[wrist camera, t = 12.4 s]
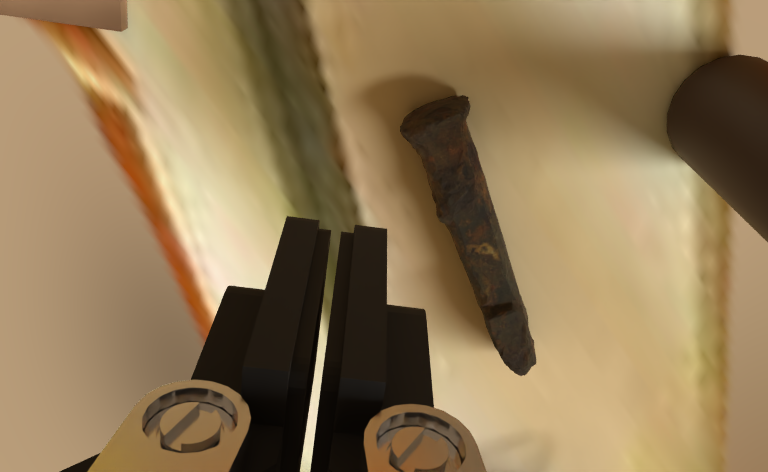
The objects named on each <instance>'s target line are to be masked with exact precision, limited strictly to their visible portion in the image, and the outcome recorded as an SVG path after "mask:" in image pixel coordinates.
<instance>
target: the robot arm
mask: <svg viewBox="0 0 768 472" xmlns="http://www.w3.org/2000/svg"><path fill="white" fill-rule="evenodd" d="M330 236H331V230H324V229H319V220H312V219H305V218H297V217H289V216H287V218H286V221H285V224H284V228H283V231H282V234H281V238H280V241H279V245H278V248H277V251H276V255H275V258H274V262H273V265H272V268H271V272H270V275H269V278H268V282H267V285H266V289H265V290H262V289H253V288H245V287H237V286H228V287H227V289H226V291H225V293H224V296H223V298H222V301H221V304H220V306H219V309H218V311H217V314H216V316H215V319H214V322H213V324H212V327H211V329H210V332H209V334H208V337H207V339H206V342H205V345H204V347H203V350H202V352H201V355H200V358H199V360H198V363H197V365H196V368H195V370H194V373H193V375H192V378H191V380H186V381H177V382H173V383H170V384H167V385H164V386H160V387H159V388H157V389H155V390H153V391H151V392H150V393H148V394H146V395H145V396H144V397H143V398H142V399H141V400H140V401H139V402H138V403H137V404H136V405H135V406H134V407H133V409H132V410H131V411H130V413H129V414H128V416H127V417H126V418H125V420H124V421H123V423H122V424H121V425H120V427H119V428H118V430H117V431H116V433H115V434H114V435H113V437H112V438H111V440H110V441H109V442H108V444H107V445H106V447H105V448H104V449H103V451H102V452H101V453H99V454H97V455H95V456H93V457H91V458H88V459H86V460H84V461H82V462H80V463H78V464H75V465H73V466H71V467H69V468H67V469H64V470H62V471H60V472H300V466H301V459H302V453H303V446H304V439H305V432H306V426H307V419H308V412H309V406H310V399H311V392H312V385H313V379H314V371H315V364H316V355H317V347H318V338H319V330H320V321H321V313H322V304H323V296H324V287H325V279H326V270H327V262H328V253H329V245H330ZM310 472H486V469H485V466H484V464H483V461H482V458H481V455H480V452H479V449H478V446H477V444H476V442H475V440H474V438H473V436H472V435H471V433H470V431H469V430H468V429H467V428H466V427H465V426H464V425H463V424H462V423H461V422H460V421H459V420H458V419H456V418H454V417H453V416H451V415H449V414H448V413H446V412H444V411H442V410H439V409H436V408H434V404H433V392H432V380H431V368H430V356H429V344H428V332H427V320H426V312H425V310H424V309H419V308H410V307H402V306H394V305H387V229H383V228H375V227H367V226H360V225H355V228H354V233H348V232H341V238H340V246H339V254H338V261H337V269H336V276H335V284H334V292H333V299H332V307H331V314H330V322H329V329H328V337H327V345H326V352H325V360H324V367H323V375H322V383H321V391H320V399H319V407H318V415H317V423H316V431H315V439H314V447H313V455H312V463H311V471H310Z"/></svg>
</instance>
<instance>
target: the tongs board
mask: <svg viewBox="0 0 768 472" xmlns="http://www.w3.org/2000/svg"><path fill="white" fill-rule="evenodd" d="M0 15H7V16H15V17H22V18H29V19H36V20H43V21H50V22H57V23H64V24H71V25H78V26H85V27H93V28H100V29H107V30H114V31H123V30H125V29H127V28H128V25H127V0H0Z"/></svg>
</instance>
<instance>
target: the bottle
mask: <svg viewBox="0 0 768 472" xmlns="http://www.w3.org/2000/svg"><path fill="white" fill-rule="evenodd" d="M667 133H668V136H669V138H670V141H671V144H672V147H673V149H674V150H675V151H676V152H677V153H678V154H679V156H680V157H681V158H682V159H683V160H684V161H685V162H686V163H687V164H688V165H689V166H690V167H691V168H692V169H693V170H694V171H695V172H696V173H697V174H698V175H699V176H700V177H701V178H702V179H703V180H704V181H705V182H706V183H707V184H709V185H710V186H711V187H712V188H713V189H714V190H715V191H716V192H717V193H718V194H719V195H720V196H721V197H722V198H723V199H724V200H725V201H726V202H727V203H728V204H729V205H730V206H731V207H732V208H733V209H734V210H735V211H736V212H737V213H738V214H739V215H740V216H741V217H742V218H743V219H744V220H745V221H746V222H748V223H749V224H750V225H751V226H752V227H753V228H754V229H755V230H756V231H757V232H758V233H759V234H760V235H761V236H762V237H763V238H764V239H765V240H766V241H767V242H768V62H767V61H765V60H763V59H761V58H758V57H751V56H745V55H736V56H730V57H724V58H719V59H716V60H714V61H712V62H710V63H708V64H706V65H704V66H702V67H700V68H699V69H698V70H696V71H695V72H694V73H693V74H692V75H690V76H689V77H688V78H687V79H686V80H685V81H684V82H683V84H682V85H681V86H680V88H679V89H678V91H677V92H676V94H675V95H674V96H673V99H672V102H671V105H670V108H669V111H668V114H667Z"/></svg>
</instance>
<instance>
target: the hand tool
mask: <svg viewBox="0 0 768 472" xmlns="http://www.w3.org/2000/svg"><path fill="white" fill-rule="evenodd" d="M469 110H470V103H469V101H468V97H466V96H463V95H462V96H452V97H449V98H447V99H443V100H439V101H435V102H431V103H429V104H426V105H424V106H422V107H420V108H418V109H416V110H414V111H413V112H412V113H410V114H409V115H407V116H406V117H405V118H404V120H403V124H402V125H401V126H400V132H401V134H402V135H403V137H404V138H405V139H406V140H407V141H409V142H410V143H411V145H412V146H413V148H415V149H416V151H417V153H418V154H419V155H420V156H421V158H422V160H423V164H424V167H425V169H426V172H427V176H428V181H429V185H430V187H431V190H432V196H433V199H434V201H435V203H436V207H437V216H438V218H439V220H440V222H442V223H444V224H445V225H446V226H447V228H448V229H449V231H450V233H451V235H452V237H453V240H454V242H455V245H456V248H457V251H458V253H459V256H460V259H461V261H462V263H463V265H464V268H465V270H466V272H467V274H468V277H469V279H470V282H471V284H472V287H473V290H474V293H475V296H476V299H477V302H478V304H479V306H480V308H481V310H482V312H483V315H484V319H485V323H486V327H487V329H488V332H489V334H490V336H491V339H492V341H493V344H494V346H495V348H496V349H497V350H498V352H499V354H500V356H501V358H502V360H503V361H504V363H505V364H506V366H508V367H509V368H510V370H512V371H514V373H516V374H518V375H520V376H522V375H525V374H527V372H529V370H530V368H531V367H532V366H533V365H535V364H536V355H535V349H534V340H533V339H532V337H531V335H530V331H529V327H528V316H527V312H526V308H525V306H524V304H523V301H522V298H521V295H520V293H519V289H518V286H517V283H516V279H515V276H514V273H513V270H512V267H511V263H510V260H509V256H508V253H507V249H506V245H505V242H504V239H503V235H502V232H501V229H500V226H499V223H498V219H497V216H496V213H495V210H494V207H493V203H492V201H491V197H490V194H489V191H488V187H487V183H486V179H485V176H484V173H483V171H482V168H481V165H480V161H479V158H478V153H477V150H476V147H475V145H474V143H473V140H472V138H471V135H470V132H469V129H468V126H467V123H466V118H467V116H468V114H469Z"/></svg>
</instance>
